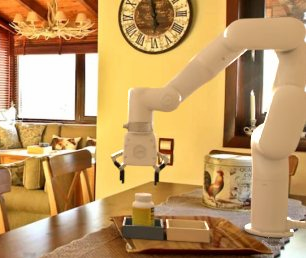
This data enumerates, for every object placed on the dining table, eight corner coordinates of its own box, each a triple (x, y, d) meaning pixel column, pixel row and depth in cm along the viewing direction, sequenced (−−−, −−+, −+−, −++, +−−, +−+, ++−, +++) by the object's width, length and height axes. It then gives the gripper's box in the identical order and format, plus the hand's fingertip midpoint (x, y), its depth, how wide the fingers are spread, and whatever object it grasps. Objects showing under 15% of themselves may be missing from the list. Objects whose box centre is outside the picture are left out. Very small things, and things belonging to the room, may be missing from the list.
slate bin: (162, 230, 151) (162, 218, 151) (163, 240, 141) (163, 227, 141) (124, 228, 154) (124, 216, 154) (122, 237, 144) (122, 225, 144)
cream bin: (205, 232, 148) (206, 220, 148) (209, 242, 138) (209, 229, 138) (166, 230, 151) (166, 219, 150) (167, 240, 141) (167, 227, 141)
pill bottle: (155, 235, 144) (155, 196, 143) (132, 234, 145) (132, 196, 144) (153, 229, 150) (153, 192, 149) (132, 229, 151) (132, 191, 150)
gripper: (110, 128, 154) (109, 184, 156) (170, 129, 150) (168, 187, 151) (112, 126, 162) (111, 180, 163) (169, 127, 157) (168, 183, 159)
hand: (139, 183), depth 157 cm, fingers open, 9 cm apart
